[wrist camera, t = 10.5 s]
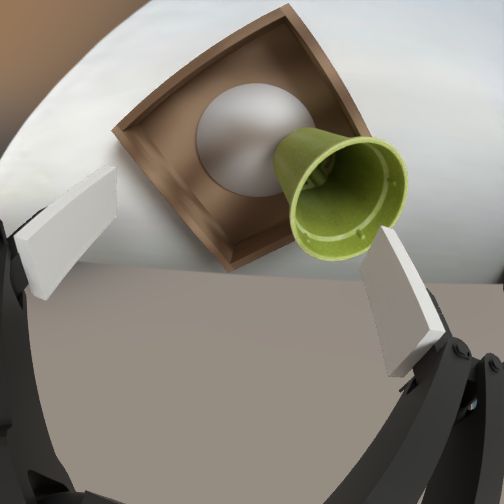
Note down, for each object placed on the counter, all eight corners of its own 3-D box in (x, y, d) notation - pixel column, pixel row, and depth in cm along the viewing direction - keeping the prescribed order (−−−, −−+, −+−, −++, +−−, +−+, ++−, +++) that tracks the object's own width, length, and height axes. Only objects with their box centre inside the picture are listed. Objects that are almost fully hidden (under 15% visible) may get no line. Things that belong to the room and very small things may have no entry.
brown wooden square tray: (379, 173, 26) (395, 190, 23) (233, 247, 33) (228, 272, 29) (286, 14, 18) (288, 3, 15) (132, 120, 25) (111, 130, 21)
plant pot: (357, 114, 23) (423, 146, 16) (339, 203, 29) (387, 255, 22) (258, 105, 21) (302, 131, 14) (251, 207, 26) (281, 268, 20)
